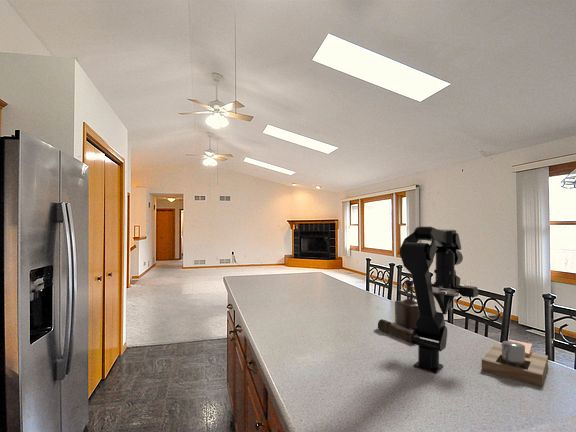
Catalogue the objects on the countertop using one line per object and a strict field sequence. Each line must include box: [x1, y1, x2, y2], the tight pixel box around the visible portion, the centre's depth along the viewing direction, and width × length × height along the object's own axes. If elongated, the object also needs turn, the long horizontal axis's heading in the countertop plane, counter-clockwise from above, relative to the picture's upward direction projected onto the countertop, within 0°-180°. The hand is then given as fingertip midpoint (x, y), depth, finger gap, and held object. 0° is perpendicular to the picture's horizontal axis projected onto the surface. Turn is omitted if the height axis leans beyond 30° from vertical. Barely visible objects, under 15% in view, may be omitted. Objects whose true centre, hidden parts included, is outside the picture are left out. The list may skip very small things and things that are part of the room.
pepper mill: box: [394, 278, 419, 330], centre depth 141 cm, size 16×11×18 cm
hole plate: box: [481, 343, 549, 387], centre depth 97 cm, size 18×14×3 cm
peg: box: [501, 340, 525, 369], centre depth 94 cm, size 6×6×8 cm
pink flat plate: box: [508, 339, 533, 357], centre depth 102 cm, size 7×6×1 cm
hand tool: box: [377, 319, 413, 343], centre depth 124 cm, size 19×4×5 cm, turn 27°
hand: (444, 314), depth 108 cm, fingers closed
